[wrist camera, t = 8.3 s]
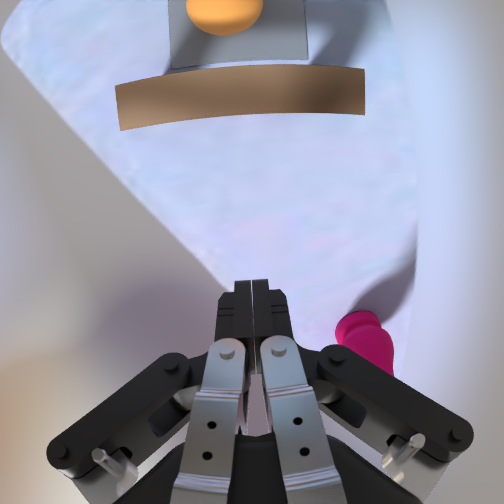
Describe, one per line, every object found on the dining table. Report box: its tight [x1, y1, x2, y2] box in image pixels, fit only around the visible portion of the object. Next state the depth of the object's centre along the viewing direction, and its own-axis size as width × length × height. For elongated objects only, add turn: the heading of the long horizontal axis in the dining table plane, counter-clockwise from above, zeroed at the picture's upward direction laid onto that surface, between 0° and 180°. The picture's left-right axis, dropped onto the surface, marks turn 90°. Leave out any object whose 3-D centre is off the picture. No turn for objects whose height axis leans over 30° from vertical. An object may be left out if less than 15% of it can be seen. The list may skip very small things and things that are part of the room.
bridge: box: [115, 64, 365, 131], centre depth 19 cm, size 3×15×10 cm, turn 93°
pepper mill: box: [335, 311, 394, 376], centre depth 29 cm, size 7×7×20 cm
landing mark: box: [168, 0, 308, 69], centre depth 19 cm, size 12×12×1 cm
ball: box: [186, 0, 263, 36], centre depth 17 cm, size 6×6×6 cm
